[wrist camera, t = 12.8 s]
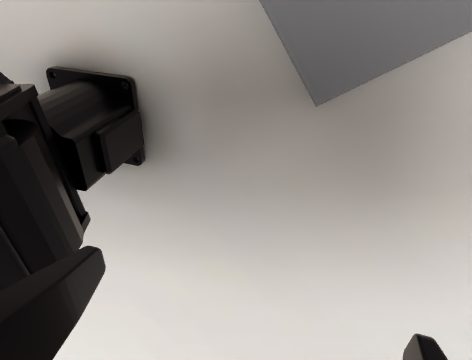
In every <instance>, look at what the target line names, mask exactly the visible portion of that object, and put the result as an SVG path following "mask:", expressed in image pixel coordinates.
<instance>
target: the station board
mask: <svg viewBox="0 0 472 360" xmlns="http://www.w3.org/2000/svg"><path fill="white" fill-rule="evenodd" d="M260 2H261V4H262V6H263V8H264V10H265V11H266V13H267V15H268V17H269V19H270V21H271V23H272V25H273V27H274V28H275V30H276V32H277V34H278V36H279V38H280V40H281V42H282V43H283V45H284V47H285V49H286V51H287V53H288V55H289V57H290V59H291V60H292V62H293V64H294V66H295V68H296V70H297V72H298V74H299V75H300V77H301V79H302V81H303V83H304V85H305V87H306V89H307V91H308V92H309V94H310V96H311V98H312V100H313V102H314V104H315V106H318V105H321V104H323V103H325V102H327V101H329V100H331V99H333V98H335V97H337V96H339V95H341V94H343V93H345V92H347V91H349V90H352V89H354V88H356V87H358V86H360V85H362V84H364V83H366V82H368V81H370V80H372V79H374V78H376V77H378V76H380V75H383V74H385V73H387V72H389V71H391V70H393V69H395V68H397V67H399V66H401V65H403V64H405V63H407V62H409V61H411V60H413V59H416V58H418V57H420V56H422V55H424V54H426V53H428V52H430V51H432V50H434V49H436V48H438V47H440V46H442V45H444V44H447V43H449V42H451V41H453V40H455V39H457V38H459V37H461V36H463V35H465V34H467V33H469V32H471V31H472V0H260Z"/></svg>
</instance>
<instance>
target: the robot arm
mask: <svg viewBox="0 0 472 360" xmlns="http://www.w3.org/2000/svg"><path fill="white" fill-rule="evenodd" d="M54 74H55V75H56V76H55V75H54ZM46 75H47V78H48V82H49V86H50V89H51V90H50V91H48V92H46V93H43V94H41V95H39V96H38V92H37V90H36V88H35V85H34V84H20V85H19V84H14V82H13V81H11V80H9V79H8V78H7V77H6V76H4V75H3V74H2V73H1V72H0V360H53V358H54V357H55V355H56V354H57V352H58V351H59V349H60V348H61V346H62V345H63V343H64V342H65V340H66V339H67V337H68V336H69V334H70V333H71V331H72V330H73V328H74V327H75V325H76V324H77V322H78V321H79V319H80V317H81V316H82V314H83V312H84V310H85V308H86V307H87V305H88V303H89V301H90V299H91V297H92V295H93V293H94V292H95V290H96V288H97V286H98V284H99V282H100V280H101V279H102V277H103V275H104V272H105V267H106V266H105V262H104V258H103V254H102V251H101V249H99V248H97V247H93V246H85V247H83V248H81V249H79V248H80V246H81V245H82V243H83V235H84V232H85V230H86V228H87V226H88V224H89V222H90V220H91V219H90V216H89V214H88V212H86V211H85V209H84V207H83V204H82V202H81V199H80V197H79V195H78V192H77V190H82V191H87V190H88V189H89V188H90V187H91V186H92V185H93V184H95V183H96V182H97V181H98V180H99V179H100V178H102V177H103V176H104V175H105V174H111V173H112V172H113V171H115V170H116V169H117V168H118V167H119V166H120V165H121V164H122V163H126V164H131V165H136V166H139V165H141V164H142V163H143V162H144V161H145V156H144V149H143V145H144V141H143V133H142V126H141V118H140V113H139V111H138V104H137V97H136V89H135V84H134V81H133V80H132V79H131V78H130V77H127V76H120V75H113V74H106V73H98V72H91V71H84V70H76V69H69V68H62V67H51V68H48V69H47V71H46ZM125 83H127V84H128V88H127V87H126V86H125ZM136 157H137V158H138V159H139V160H138V159H137V158H136ZM403 360H448V359H447V357H446V356H445V354H444V353H443V351H442V350H441V348H440V347H439V345H438V344H437V342H436V341H435V340H434V339H433V338H431V337H428V336H425V335H421V334H414V335H413V337H412V338H411V340H410V342H409V343H408V345H407V347H406V348H405V350H404V353H403Z"/></svg>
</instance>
